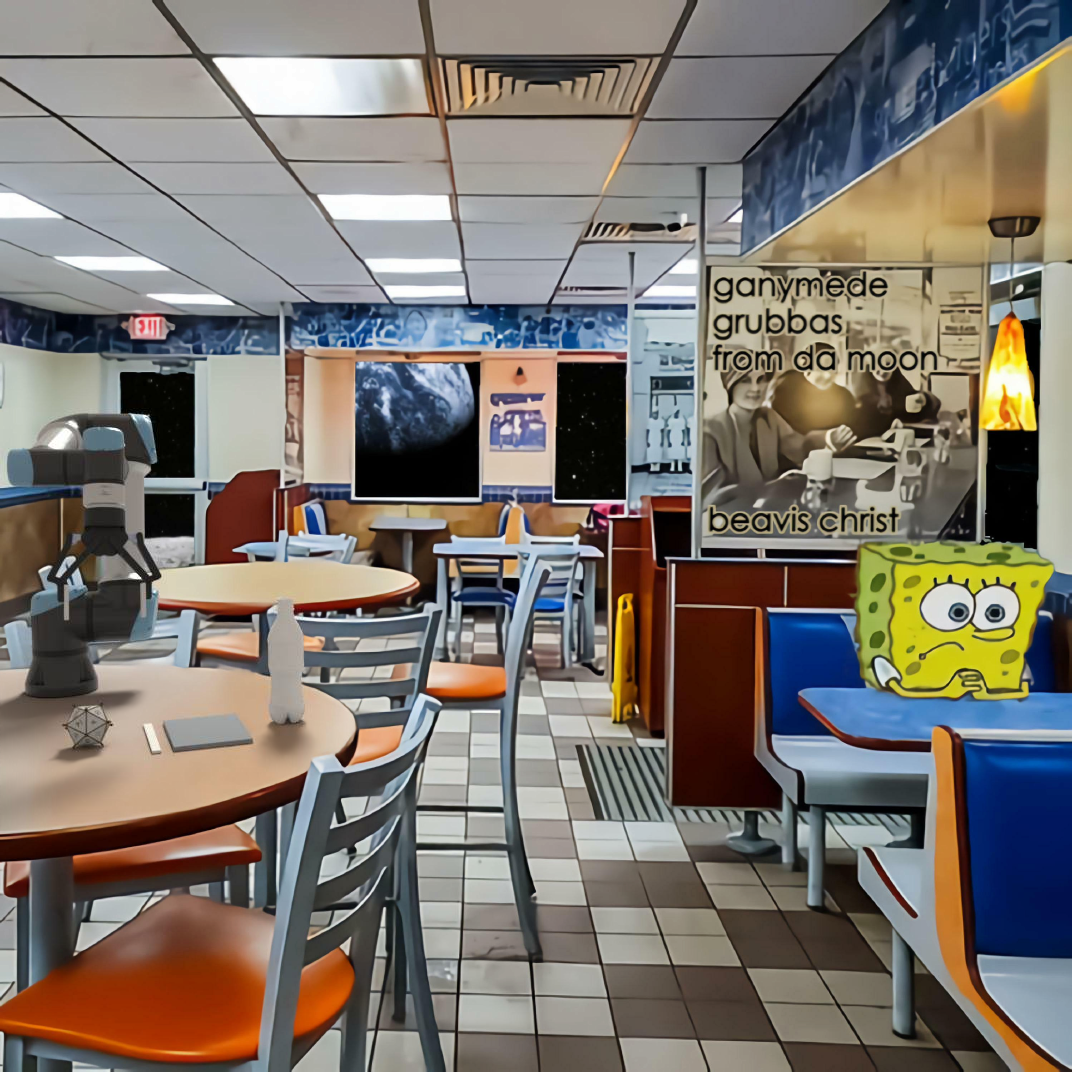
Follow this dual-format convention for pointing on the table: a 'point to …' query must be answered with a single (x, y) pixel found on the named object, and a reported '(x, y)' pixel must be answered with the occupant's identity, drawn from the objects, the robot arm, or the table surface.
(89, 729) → the game die
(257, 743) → the table surface
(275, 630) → the water bottle
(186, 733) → the mat
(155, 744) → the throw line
